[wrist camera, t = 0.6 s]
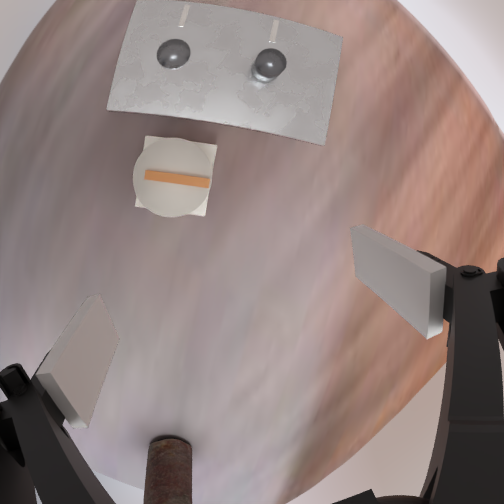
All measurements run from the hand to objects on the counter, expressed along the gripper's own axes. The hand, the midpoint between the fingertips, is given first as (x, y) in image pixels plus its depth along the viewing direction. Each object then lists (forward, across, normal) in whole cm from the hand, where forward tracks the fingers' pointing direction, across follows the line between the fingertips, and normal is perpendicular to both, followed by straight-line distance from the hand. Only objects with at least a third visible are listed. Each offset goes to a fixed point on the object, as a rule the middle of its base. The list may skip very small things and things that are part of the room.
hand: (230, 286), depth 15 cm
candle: (+21, -18, -35) cm, 45 cm away
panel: (+20, +5, +16) cm, 26 cm away
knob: (+20, -3, +5) cm, 21 cm away
